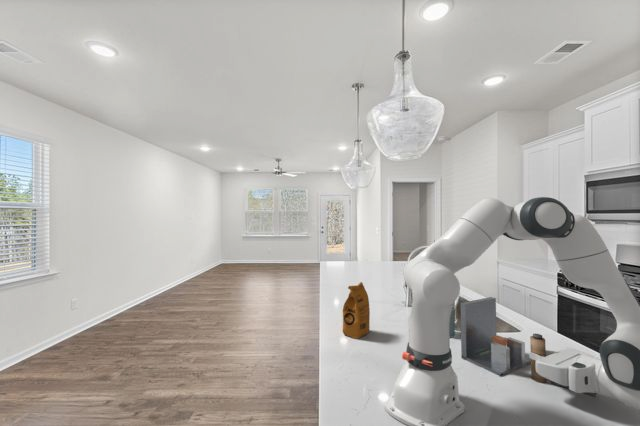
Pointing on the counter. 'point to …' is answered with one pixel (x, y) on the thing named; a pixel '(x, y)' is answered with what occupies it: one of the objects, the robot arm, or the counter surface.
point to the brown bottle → (539, 348)
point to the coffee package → (356, 312)
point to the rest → (568, 387)
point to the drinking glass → (452, 323)
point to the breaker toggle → (499, 340)
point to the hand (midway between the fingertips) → (535, 352)
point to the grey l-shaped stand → (488, 339)
